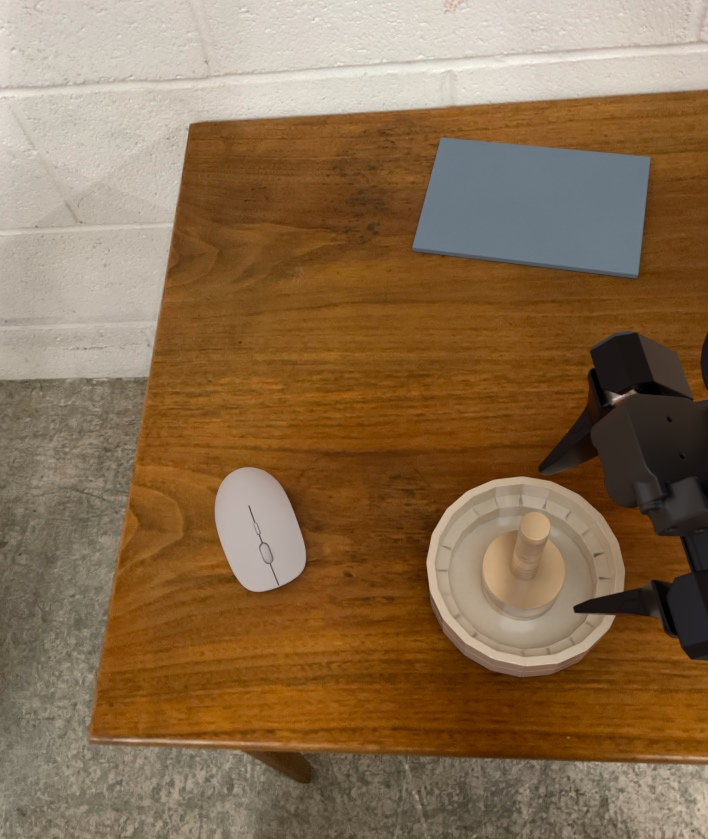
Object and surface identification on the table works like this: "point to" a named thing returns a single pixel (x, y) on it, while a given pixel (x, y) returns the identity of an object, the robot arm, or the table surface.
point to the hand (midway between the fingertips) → (559, 538)
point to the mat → (536, 206)
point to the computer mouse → (258, 530)
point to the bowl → (584, 579)
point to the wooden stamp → (523, 570)
